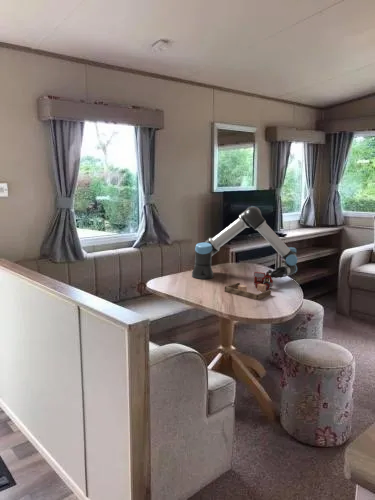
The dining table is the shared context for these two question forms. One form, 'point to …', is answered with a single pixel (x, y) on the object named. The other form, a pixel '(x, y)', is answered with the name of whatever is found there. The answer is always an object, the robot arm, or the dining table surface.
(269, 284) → the toy fire truck
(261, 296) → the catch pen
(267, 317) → the dining table surface
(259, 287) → the tan cube
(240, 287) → the light brown cube
